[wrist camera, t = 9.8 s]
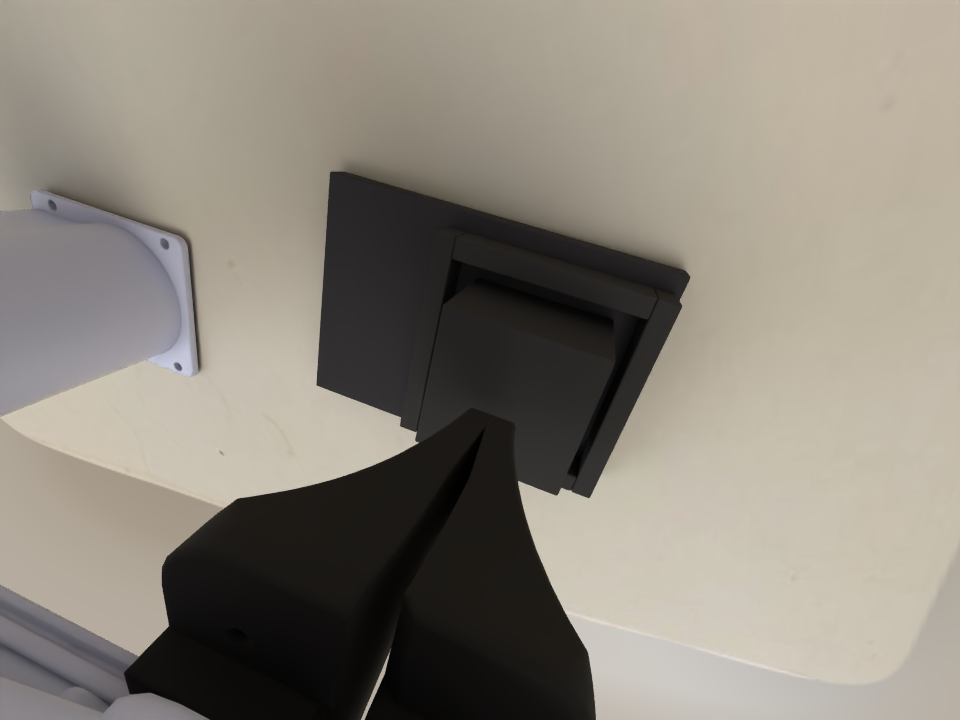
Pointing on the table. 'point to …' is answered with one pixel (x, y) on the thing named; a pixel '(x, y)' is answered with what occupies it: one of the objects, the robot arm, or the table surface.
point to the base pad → (451, 268)
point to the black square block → (520, 373)
